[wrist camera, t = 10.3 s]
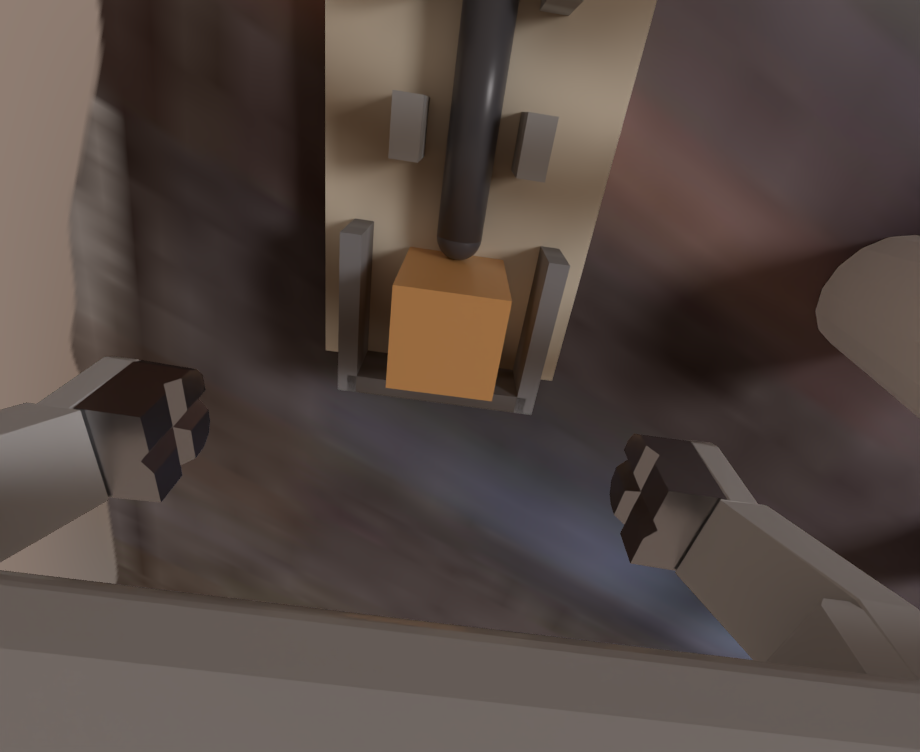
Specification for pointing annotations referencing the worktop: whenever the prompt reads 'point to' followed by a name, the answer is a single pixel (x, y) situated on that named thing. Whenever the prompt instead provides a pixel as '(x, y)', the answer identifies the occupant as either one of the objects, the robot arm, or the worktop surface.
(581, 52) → the board
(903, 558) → the worktop surface
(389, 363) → the plug
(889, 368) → the shot glass
